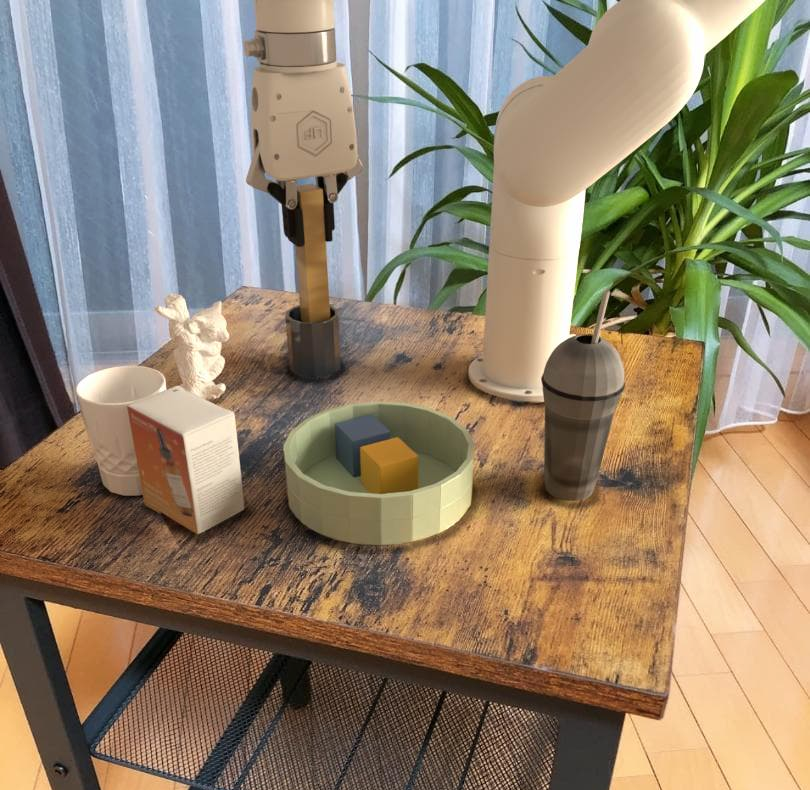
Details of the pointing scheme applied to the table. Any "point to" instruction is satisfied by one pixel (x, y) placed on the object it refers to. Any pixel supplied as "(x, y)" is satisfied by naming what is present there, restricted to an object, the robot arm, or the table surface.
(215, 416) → the small box
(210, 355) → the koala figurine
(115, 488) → the white cup
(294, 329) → the utensil pot
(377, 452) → the mustard block
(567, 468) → the beverage cup
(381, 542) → the bowl
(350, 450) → the blue block
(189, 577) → the table surface
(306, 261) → the tan wooden bar
